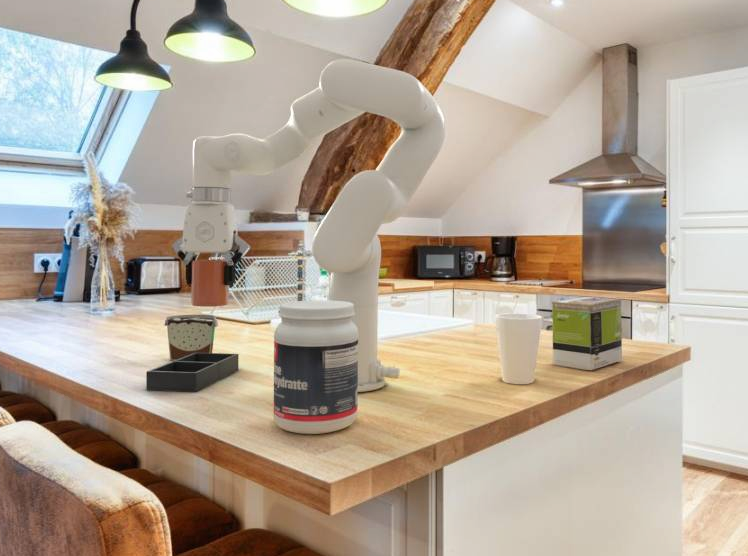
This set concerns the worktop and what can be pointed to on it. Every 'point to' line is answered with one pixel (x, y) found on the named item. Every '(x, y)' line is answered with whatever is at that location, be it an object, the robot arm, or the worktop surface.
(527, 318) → the foam cup
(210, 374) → the holder
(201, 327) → the food container
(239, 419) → the worktop surface
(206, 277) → the cup
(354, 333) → the supplement tub
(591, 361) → the tea box
